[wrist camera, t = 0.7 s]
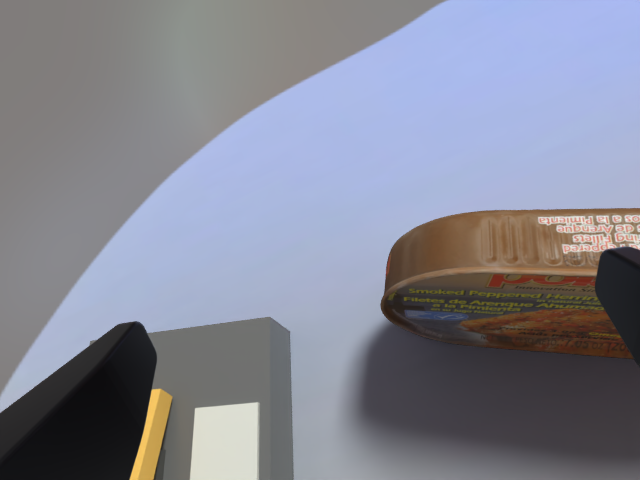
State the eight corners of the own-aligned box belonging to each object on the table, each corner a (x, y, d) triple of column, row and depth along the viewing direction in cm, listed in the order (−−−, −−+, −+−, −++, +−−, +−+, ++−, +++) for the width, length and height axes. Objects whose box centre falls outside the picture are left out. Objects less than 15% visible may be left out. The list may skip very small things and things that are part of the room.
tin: (391, 339, 21) (364, 284, 14) (395, 280, 22) (372, 201, 15) (769, 371, 17) (1024, 315, 9) (747, 296, 18) (957, 195, 11)
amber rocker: (134, 560, 15) (116, 558, 15) (52, 561, 16) (31, 559, 15) (172, 396, 19) (160, 388, 18) (105, 403, 20) (90, 395, 19)
